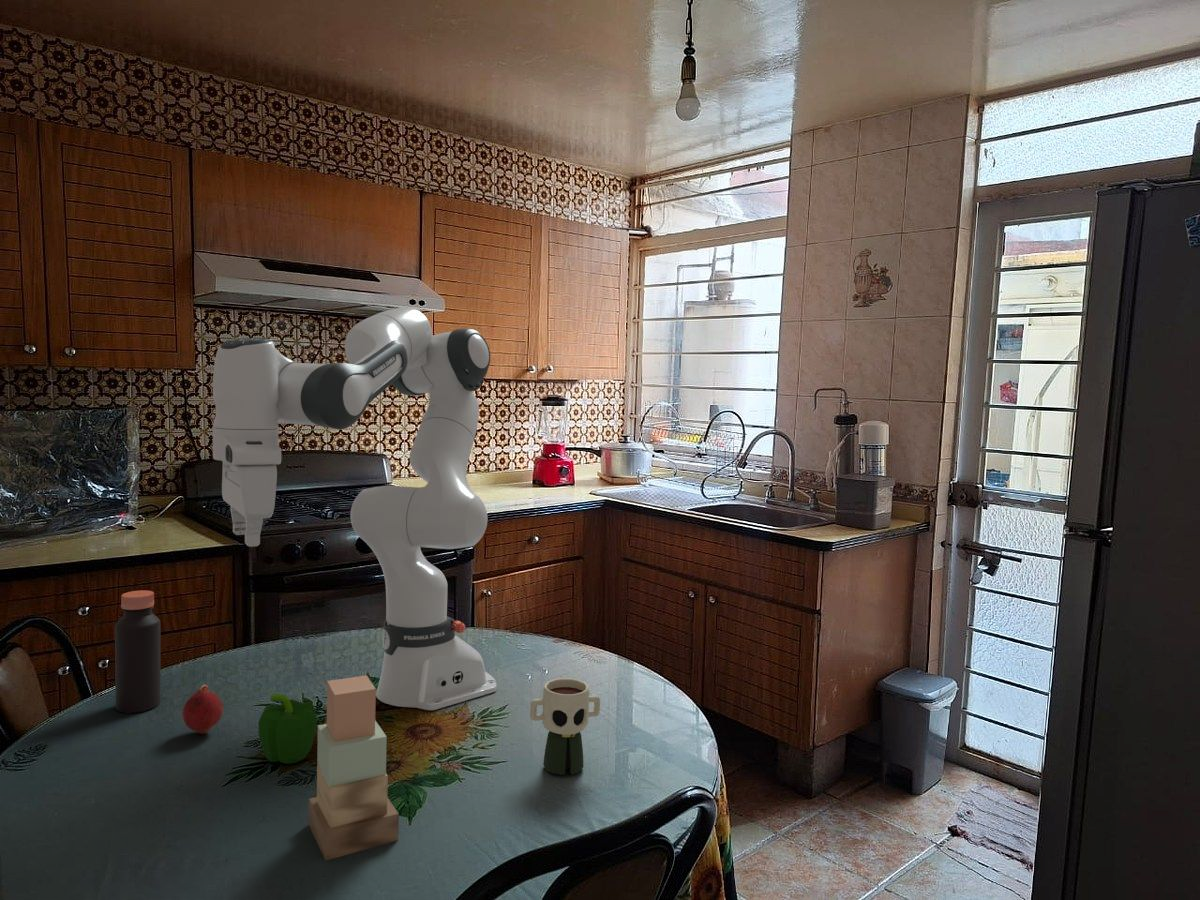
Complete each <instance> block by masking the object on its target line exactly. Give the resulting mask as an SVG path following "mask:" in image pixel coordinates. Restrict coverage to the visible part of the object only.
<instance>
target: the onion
mask: <svg viewBox="0 0 1200 900" xmlns="http://www.w3.org/2000/svg"><path fill="white" fill-rule="evenodd" d="M223 712H224V705H223V702H222V700H221V699H220V697H219V696H218V695H217V694H216V693H215V692H213V691H211V690H209V686H208V685H207V684H202V685H201V687H200V688H198V690H197V691H196V692H195V693H194V694H192V695H191V696H190V697H189V699H188V700H187V701H186V702H185V704H184V706H183V709H182V718H183V723H184V724H185V726H186V727H187V728H189V729H190V730H192V731H194V732H196V733H198V734H201V735H204V734H206V733H208V732H210V731H209V730H211V729H212V728H213V727H215V725H217V724H218V722H219V721H220V720H221V718H222V715H223Z"/></svg>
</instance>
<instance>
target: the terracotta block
mask: <svg viewBox="0 0 1200 900" xmlns="http://www.w3.org/2000/svg"><path fill="white" fill-rule="evenodd" d="M376 691H377V688H376V687H375V686H374V684H373V682H372V681H371V679H370V678H369V676H368V675H366V674H365V675H360V676H353V677H352V676H351V677H346V678H339V679H331V680H327V681H326V724H327V728H328V730H329V732H330V734H331V736H332V739H333V741H334V742H336V741H342V740H348V739H353V738H359V737H365V736H370V735H375V721H376V705H377V704H376V702H377V701H376V699H377V697H376Z"/></svg>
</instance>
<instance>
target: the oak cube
mask: <svg viewBox="0 0 1200 900" xmlns="http://www.w3.org/2000/svg"><path fill="white" fill-rule="evenodd" d="M388 779H389V776H388V773H386V775H382V776H378V777H373V778H368V779H364V780H359V781H354V782H350V783H345V784H341V785H336V786H331V787H329V786H328V784H327V782H326V780H325V778H324V776H323V774H322V771H321V769H320V767H319V765H318V764H317V765H316V797H317V804H318V805H319V807H320V809H321V811H322V813H323V815H324V817H325V819H326V820H327V822H328V824H329V826H330V828H334V827H337V826H341V825H345V824H349V823H352V822H356V821H360V820H364V819H368V818H371V817H375V816H379V815H383V814H386V813H387V797H388V787H389V786H388V785H389V784H388V783H389V781H388Z"/></svg>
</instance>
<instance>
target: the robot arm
mask: <svg viewBox="0 0 1200 900" xmlns="http://www.w3.org/2000/svg"><path fill="white" fill-rule="evenodd" d="M344 352H345V356H346V359H347V362H348V363H347V362H346V363H345V362H338V363H335V362H334V363H331V362H330V363H314V362H313V363H311V362H309V363H307V362H305V363H302V362H295V361H294V360H292V359H289V358H288V357H286V356H285V355H283V354H282V353H281V352H280V351H279V350H278V349H277V348H276V347H275V343H274V341H273V340H272V339H269V338H266V337H246V338H244V337H241V338H234V339H228V340H226V341H224V342H222V343H221V344H220V345H219V347H218V348H217V351H216V354H215V359H214V365H213V374H212V375H213V377H212V400H213V402H214V405H215V417H214V420H213V425H212V449H213V450H212V459H213V460H215V461H221V462H222V474H221V475H222V479H221V495H222V496H221V497H222V499H223V501H224V502H225V503H226V504H227V505H229V506H230V515H231V521H232V532H233V534H234V535H236V536H243V535H244V544H245V545H246V546H247V547H251V548H253V547H258V546H259V545H260V544H261V532H262V529H263V528H262V527H263V523H264V519H270V518H271V517H272V516H273V514H274V511H275V504H276V495H277V494H276V493H277V483H278V482H277V481H278V480H277V479H278V469H277V465H281V463H282V450H281V448H280V445H279V443H280V442H279V441H280V440H279V423H280V424H281V423H282V424H292V425H303V426H316V427H322V428H329V429H333V430H334V429H335V430H345V429H348V428H350V427H352V426H354V424H355V423H356V422H357V421H358V420H359V419H360V418H361V417H362V416H363V414H364V413H365V411H366V409H367V407H368V406H369V405H370V404H371V402H373V400H375V398H377V397H379V396H380V394H381V393H383V392H384V391H385V390H387V389H388V388H389V387H390V386H391V385H392V386H393V387H394V388H395V389H396V390H397V391H398V392H399V393H400V394H402V395H405V396H413V397H414V396H423V395H424V394H428V393H429V403H428V407H427V408H426V410H425V413H424V415H423V417H422V419H421V422H420V423H419V426H418V429H417V432H416V436H415V438H414V441H413V443H412V446H411V449H410V452H409V463H410V466H411V468H412V470H413V471H414V472H415V474H416V475H417V477H419V478H421V480H424V481H425V482H427V484H426V485H425V486H420V487H418V486H416V487H415V486H405V485H403V486H400V485H381V486H374V487H369V488H365V489H363V490H361V491H360V492H359V493H358V494H357V496H356V497H355V498H354V500H353V501H352V504H351V509H350V516H349V517H350V522H351V526H352V529H353V531H354V532H355V534H356V535H357V537H359V538H360V539H361V540H362V541H363V542H365V543H366V545H367V546H368V547H369V548H370V549H371V550H372V552H373V553H374V555H375V557H376V558H377V560H378V562H379V564H380V567H381V571H382V573H383V576H384V585H385V598H386V599H385V600H386V601H385V603H386V604H385V605H386V606H385V607H386V608H385V610H386V612H385V614H386V615H385V618H384V619H383V631H382V649H383V651H384V652H383V661H382V668H381V673H380V676H379V677H380V678H379V682H378V685H377V688H376V699H377V700H379V701H380V702H381V703H384V704H386V705H387V704H388V705H390V706H395V707H401V708H417V709H420V710H426V711H436V710H438V709H443V708H445V707H449V706H452V705H455V704H459V703H462V702H466V701H468V700H473V699H475V698H478V697H482V696H486V695H488V694H492V693H494V692H496V691H497V680H496V679H495V678H494V677H493V675H491V674H490V673H489V672H487V671H486V668H485V664H484V658H483V657H482V656H481V654H480V653H479V651H477V650H476V649H475V648H474V647H473V646H471V645H470V644H468V643H467V642H465V641H464V640H463V639H462V638H460V637H459V636H457V635H456V633H457V634H462V633H464V631H465V630H466V624H465V623H464V622H462V621H460V620H456V619H453V618H452V617H451V616H450V617H449V616H448V615H447V614H448V581H447V578H446V576H445V574H444V573H443V572H442V571H441V570H440V569H439V568H438V567H436V565H433V564H432V563H431V562H429V561H428V560H427V558H426V557H425V555H424V554H423V552H422V550H421V549H422V548H431V549H443V550H454V549H463V548H470V547H474V546H475V545H476V544H478V543H479V541H480V540H481V539H483V536H484V535H485V532H486V530H487V527H488V511H487V509H486V506H485V503H484V502H483V500H482V499H481V498H480V496H479V495H477V493H475V492H474V491H473V490H472V489H471V487H470V485H469V483H468V479H467V469H468V465H469V459H470V455H471V451H472V448H473V445H474V442H475V438H476V433H477V429H478V425H479V424H478V423H479V417H480V415H479V414H480V403H479V400H478V398H477V397H476V395H475V394H474V392H476V391H477V390H479V389H480V388H481V387H482V386H483V384H484V382H485V377H486V376H487V374H488V372H489V367H490V364H491V351H490V347H489V343H488V342H487V341H486V339H485V338H484V336H483V335H482V334H481V333H480V332H479V331H477V330H476V329H472V328H457V329H453V330H452V331H447V332H441V333H437V334H434V335H433V330H432V326H431V323H430V321H429V319H428V318H427V316H425V314H423V313H422V312H421V311H420V310H418V309H416V308H413V307H397V308H392V309H388V310H385V311H381V312H378V313H375V314H373V315H372V316H368V317H367V318H365V319H362V320H361V321H359V322H358V323H356V324H355V325H354V326H353V327H352V328H351V329H350V330H349V331H348V332H347V334H346V337H345V341H344Z"/></svg>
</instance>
